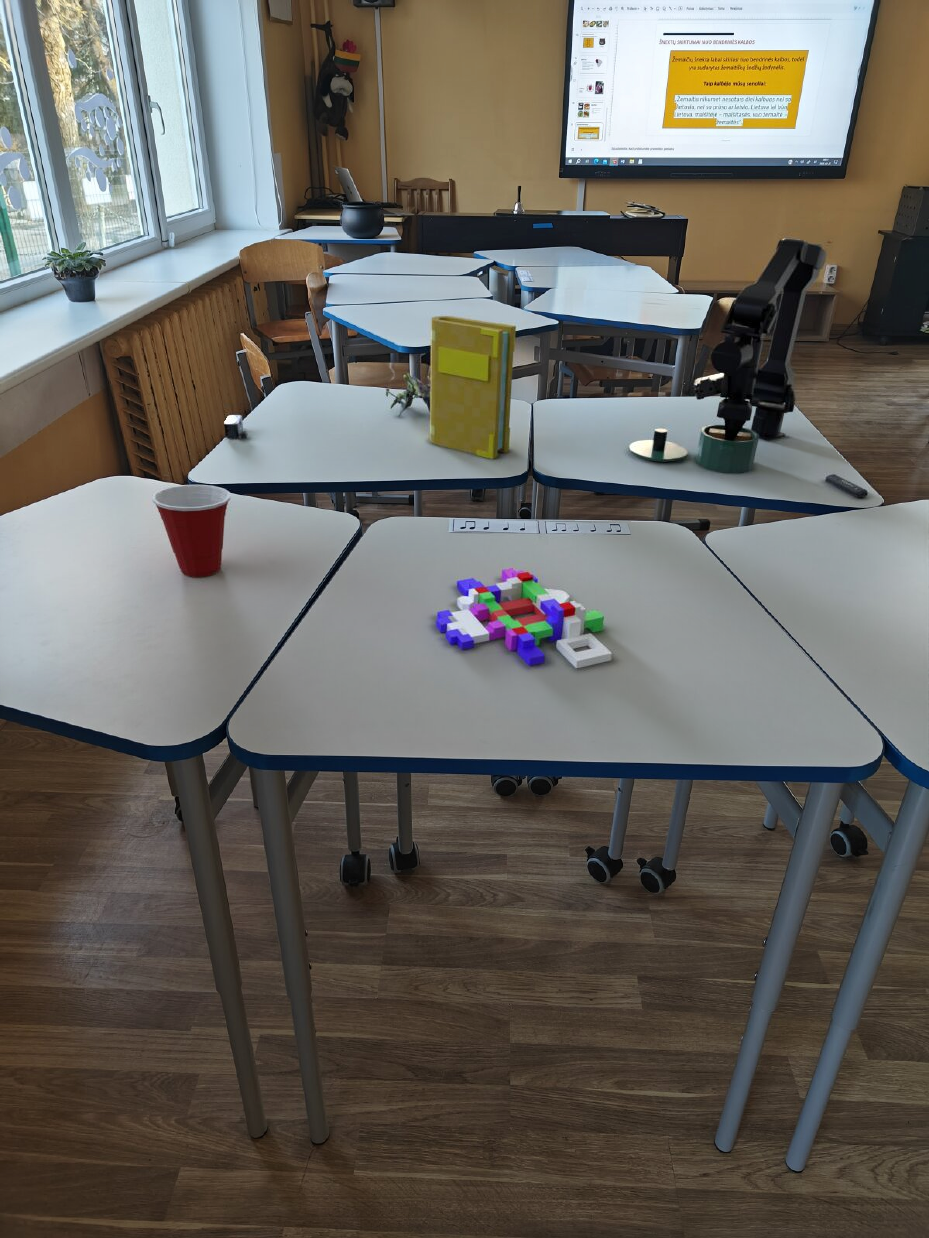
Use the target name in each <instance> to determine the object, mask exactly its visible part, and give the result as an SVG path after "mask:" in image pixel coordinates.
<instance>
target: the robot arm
mask: <svg viewBox="0 0 929 1238" xmlns="http://www.w3.org/2000/svg"><path fill="white" fill-rule="evenodd" d="M826 260H827V250H825V249H824V248H823V246H822V244H820V243H812V242H810V243H809V242H808V241H805V240H804V239H799V238H798V239H797V238H786V237H784V238H783V239H781V238H780V240H779V241H778V242H777V244H776V250H775V252H774V254H773V255H772V256H771V258H770V260H769V261H768V263H767V264H766V266H765V268H764V269H763V270H762V272H761V273H760V275H759V277H758V279H757V281H756V282H755V283H753V284H751V285H748V286H746V287H743V289H742V291H740V293H739V294H738V295H737V296H736V298H734V299H733V301H732V302H731V304H730V307H729V310H728V312H727V315H726V317H725V319H724V323H723V325H722V327H721V330H720V333H721V334H725V336H724V340H723V341H721V342H719V343H718V344H717V345H716V346H715V347H714V348H713V350H712V352H711V353H710V354H711V355H710V361H711V365H712V367H713V368H714V370H715V371H717V372H718V373H716V374H712V375H707V376H702V377H698V378H696V379H695V380H694V382H693V387H694V388H693V389H694V393H695V398H696V400H698V401H699V400H704V399H705V398H708V397H712V396H716V395H717V396H718V395H719V398H723V399H721V400H720V401H719V402H718V405H717V406H718V407H717V412H716V418H719V419H723V421H724V424H725V440H729V441H733V440H734V439H735V437H736V436H737V434H738V433H739V431H740V430H741V428H742V427H744V426H745V424H746V422H749V421H751V420H752V421H751V422H752V423H751V428H749V429H750V430H753V431H755V432H756V433H757V434H759V439H763V440H765V441H772V440H775V439H779V438H783V437H786V434H787V433H785V432H783V431H782V426H783V422H784V417H785V414H788V413H793V412H794V409H795V405H796V391H795V386H794V381H795V380H794V379H795V374H794V371H793V368H792V365H791V358H792V355H793V354H792V353H793V350H794V345H795V342H796V337H797V332H798V329H799V324H800V320H801V316H802V311H803V307H804V303H805V299H806V294H807V291H808V289H809V288H811V286H812V285H813V284H814V283H815V281H817V279H818V278H819V275H820V272H821V270H822V269H823V268H824V265H825V263H826ZM781 292H782V293H781ZM780 294H781V297H780V302H779V305H778V306H777V298H778V297H779V295H780ZM777 307H778V308H777ZM774 322H775V324H774ZM773 325H774V329H773V332H772V337H771V342H770V346H769V351H768V355H767V359H766V361H765V363H763V364H762V366H761V367H760V368H759V364H760V359H761V354H762V348H763V344H764V338H765V337H766V335H769V333H770V331H771V329H772V327H773ZM753 407H754V408H755V409H754V414H753ZM752 414H753V418H752Z"/></svg>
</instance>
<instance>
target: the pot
mask: <svg viewBox="0 0 929 1238" xmlns="http://www.w3.org/2000/svg"><path fill="white" fill-rule="evenodd" d="M710 428H711V429H719V430H725V423H723V424H722V423H721V424H718V423H717V424H710V425H709V424H708V425H705V426H703V427H701V430H700V435H699V440H698V445H697V452H696V458H695V463H696V464H697V465H699V466H700V467H702V468H704V469H706V470H709V471H714V472H718V473H723V474H724V473H725V474H741V473H747V472H749V471H751V470H752V469H753V467H754V462H755V458H756V453H757V449H758V443H759V439H760V438H759V434H757V433H756V432H755V431H753V430H750V429H751V428H748V427H744V426H743V427H742V428H741V430H740V431H739V432H745V433H751V438H750V440H748V441H729V440H722V439H718V438H714V437H712V436H709V431H710Z"/></svg>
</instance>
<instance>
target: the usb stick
mask: <svg viewBox="0 0 929 1238" xmlns="http://www.w3.org/2000/svg"><path fill="white" fill-rule="evenodd" d="M825 482H827V483H829V484H830V485H832V486H834V487H836V488H839V489H840V490H842V491H844V492H847V493H848V494H849V495H852V496H854V497H856V498H859V499H861V498H866V497H867V496H868V494H869V492H868V490H867V489H865V488H864V487H861V486H859V485H857V484H855V483H853V482H851V481H849V480H848V479H845V478H843V477H841V476H839V475H837V474H835V473H832V474H829V475H827V476H826V477H825Z"/></svg>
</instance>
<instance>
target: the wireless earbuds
mask: <svg viewBox="0 0 929 1238" xmlns="http://www.w3.org/2000/svg"><path fill="white" fill-rule="evenodd" d="M223 428H224V434H225V435H224V436H225V438H226V439H230V440H231V439H232V440H233V439H235V440H236V439H238V438H240V439H241V440H246V439H247V438H248V431H245V430H244V423H243V415H241V414H230V415H228V416H227V418H226V420H225V421H224V422H223ZM243 430H244V431H243Z"/></svg>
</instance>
